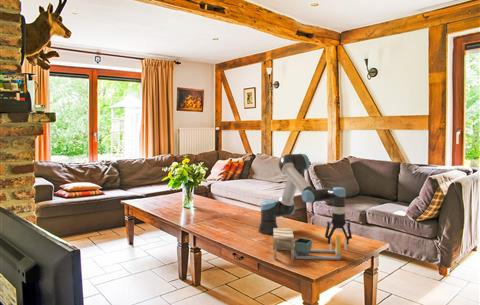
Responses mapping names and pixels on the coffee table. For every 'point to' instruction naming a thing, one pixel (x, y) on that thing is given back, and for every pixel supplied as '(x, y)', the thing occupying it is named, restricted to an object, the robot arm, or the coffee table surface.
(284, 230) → the shelf
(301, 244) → the flower pot
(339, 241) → the frame with square tube
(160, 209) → the coffee table surface
